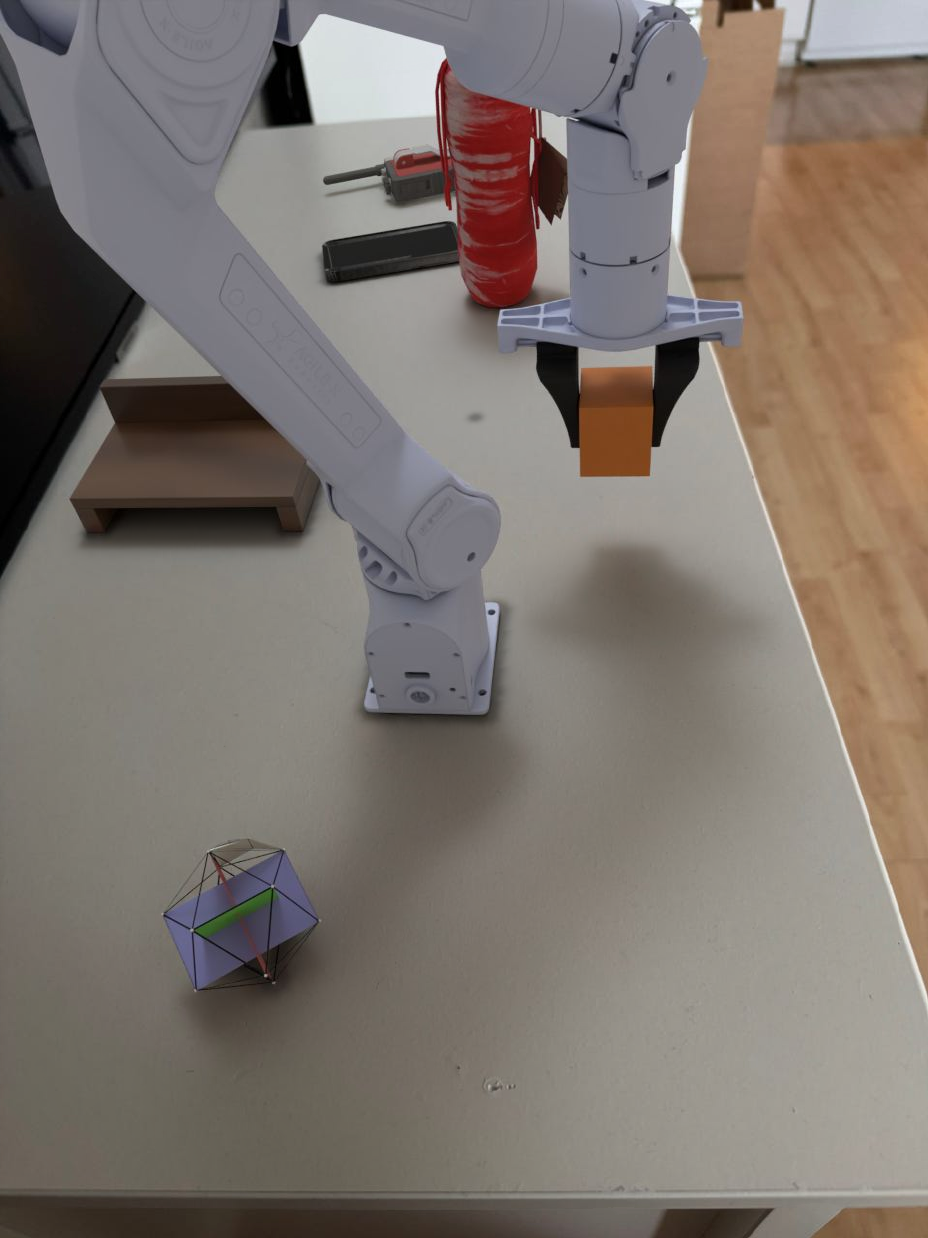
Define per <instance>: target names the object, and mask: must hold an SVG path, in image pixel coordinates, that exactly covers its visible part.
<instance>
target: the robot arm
mask: <svg viewBox="0 0 928 1238" xmlns="http://www.w3.org/2000/svg"><path fill="white" fill-rule="evenodd" d="M321 15H327V16H332V17H336V18H339V19H342V20H346V21H350V22H353V23H357V24H360V25H364V26H368V27H371V28H375V29H378V30H382V31H386V32H390V33H393V34H397V35H400V36H404V37H409V38H413V39H416V40H420V41H423V42H427V43H430V44H434V45H437V46H441V47H443V50H444V54H445V59H446V58H447V61H448V64H449V66H450V68H451V70H452V72H453V74H454V76H455V77H456V79H457V80H458V81H459V82H460V83H461V84H462V85H463V86H464V87H465V88H467V89H469V90H470V91H473V92H476V93H480V94H484V95H488V96H491V97H495V98H498V99H502V100H506V101H509V102H513V103H516V104H520V105H524V106H527V107H530V109H532V108H534V109H536V110H537V111H538V110H541V112H545V113H549V114H553V115H554V116H555V117H557V118H561V117H563V118H566V119H565V122H566V123H565V127H566V158H567V176H568V195H567V210H568V211H567V212H568V213H567V214H568V215H567V216H568V254H569V255H568V260H569V261H568V268H569V297H567V298H561V299H557V300H553V301H548V302H544V303H539V304H535V305H529V306H524V307H523V306H522V307H515V308H506V309H503V308H502V309H500V310H499V312H498V313H499V314H498V319H497V323H496V324H497V325H496V328H497V329H496V330H497V340H498V353H499V354H515V353H517V351H518V348H536V364H535V371H536V375H537V377H538V380H539V382H540V383H541V385H543V387H544V388H545V389H546V391H547V392H548V393H549V395H550V397H551V398H552V400H553V401H554V403H555V405H556V406H557V409H558V411H559V413H560V415H561V417H562V420H563V422H564V426H565V429H566V431H567V435H568V438H569V444H570V448H571V449H580V440H579V399H580V379H579V378H580V375H579V373H580V371H579V370H580V369H579V368H580V367H579V363H580V362H579V357H580V355H579V353H580V352H579V351H580V350H579V348H581V349H582V348H583V349H588V350H594V351H601V352H609V353H620V352H621V353H622V352H631V351H635V350H640V349H645V348H649V347H654V346H655V347H654V348H655V349H654V374H653V375H654V376H653V426H652V446H651V448H660V447H661V444H662V439H663V436H664V432H665V430H666V427H667V425H668V421H669V419H670V417H671V415H672V413H673V411H674V408H675V406H676V405H677V403H678V401H679V400H680V398H681V396H682V395H683V393H684V392H685V390H686V389H687V388H688V386H689V385H690V384H691V383H692V381H693V380H695V377H696V376H697V373H698V370H699V367H700V362H701V358H700V343H713V342H714V343H716V342H717V343H718V342H720V345H721V346H722V347H724V348H739V347H741V344H742V336H743V328H744V320H745V319H744V311H743V304H742V302H741V301H739V300H736V301H733V300H731V301H729V300H726V301H725V300H712V299H704V298H697V297H690V296H683V295H677V294H669V293H668V292H669V291H668V290H669V276H670V275H669V273H670V257H671V242H672V241H671V240H672V225H673V208H674V190H675V177H676V176H675V175H676V174H675V172H676V166H677V165H678V164H680V162H681V160H682V158H683V152H684V151H686V149H687V139H688V138H687V137H688V127H689V123H690V120H691V117H692V114H693V113H694V110H695V108H696V106H697V104H698V102H699V99H700V97H701V94H702V92H703V89H704V86H705V83H706V78H707V73H708V67H709V59H710V58H709V57H707V56H704V54H703V53H704V51H703V45H702V41H701V37H700V35H699V33H698V31H697V30H696V28H695V27H694V25H692V24H691V22H692V19H691V18H690V17H689V15H688V13H687V12H686V11H684V9H682V8H680V7H678V6H675V5H671V4H666V3H661V2H656V1H652V0H0V36H1V38H2V39H3V42H4V44H5V46H6V49H7V50H8V52H9V54H10V56H11V58H12V60H13V62H14V63H13V64H14V65H15V67H16V72H17V74H18V78H19V81H20V85H21V88H22V91H23V94H24V98H25V101H26V104H27V108H28V111H29V114H30V117H31V121H32V125H33V128H34V131H35V134H36V138H37V141H38V144H39V148H40V151H41V155H42V157H43V161H44V164H45V168H46V172H47V175H48V178H49V181H50V185H51V188H52V191H53V195H54V198H55V201H56V204H57V205H58V209H59V211H60V213H61V215H62V216H63V217H64V219H65V220H66V222H67V223H68V224H69V226H70V227H71V229H72V230H73V231H74V232H75V234H77V235H78V237H80V239H82V241H84V242H85V243H86V244H87V245H88V246H89V247H90V248H91V249H92V250H93V251H94V252H95V253H96V254H97V255H98V256H99V257H100V258H101V259H102V260H103V261H104V262H105V263H106V264H107V265H108V266H109V267H110V268H111V269H112V270H113V271H114V272H115V273H116V274H117V275H118V276H119V277H120V278H121V279H122V280H123V281H124V282H125V283H126V284H127V285H129V287H130V288H132V290H134V292H135V293H137V295H138V296H139V297H141V299H143V301H144V302H146V303H147V304H148V305H149V306H150V307H151V308H152V309H153V310H154V311H155V313H156V314H158V315H159V316H160V317H161V318H162V320H164V322H166V323H167V324H168V325H169V326H170V327H171V328H172V329H173V330H174V331H175V332H176V333H177V334H178V335H179V336H180V337H181V338H182V339H183V340H184V341H185V342H186V343H187V344H189V346H190V347H191V348H193V350H195V352H196V353H198V355H199V356H201V358H203V360H204V361H206V362H207V363H208V364H209V365H210V367H212V368H213V369H214V371H216V372H217V373H218V374H219V376H222V377H223V378H224V379H225V380H226V381H227V382H228V383H229V384H230V385H231V386H232V387H233V388H234V389H235V390H236V391H237V392H238V393H239V394H240V395H241V396H242V397H243V398H244V399H245V400H246V401H247V402H249V403H250V404H251V405H252V406H253V407H254V408H255V409H256V410H257V411H258V412H259V413H260V414H261V415H262V416H263V417H264V418H265V419H266V420H267V421H268V422H269V423H270V424H271V425H272V426H273V427H274V428H275V429H276V430H277V431H278V432H279V433H280V434H281V435H282V436H283V437H284V438H285V439H286V440H287V441H288V442H289V443H290V444H291V445H292V446H293V447H294V448H295V449H296V450H297V451H298V452H299V453H300V454H301V455H302V456H303V457H304V458H305V459H306V460H307V465H308V466H309V467H310V468H311V469H312V470H313V471H314V472H315V473H316V475H317V476H318V477H319V479H320V481H319V482H320V483H321V486H322V490H323V495H324V499H325V503H326V504H327V507H328V508H329V510H330V511H331V512H332V513H333V514H334V515H335V517H337V518H338V519H339V520H341V521H344V522H346V523H348V524H349V525H350V526H351V528H352V533H353V536H354V541H355V542H356V550H357V558H358V562H359V566H360V570H361V574H362V578H363V579H362V580H363V582H364V588H365V590H366V595H367V599H368V612H369V613H368V620H367V625H366V630H365V635H364V638H363V639H364V640H363V651H364V656H365V660H366V664H367V667H368V668H367V669H368V671H369V678H368V681H367V682H368V683H367V687H366V692H365V697H364V700H363V707H364V709H365V711H366V712H368V713H383V714H384V713H385V714H386V713H387V714H389V713H390V714H425V715H427V714H431V715H465V716H466V715H468V716H469V715H470V716H471V715H473V716H483V715H485V714H487V713H488V712H489V710H490V704H491V695H492V688H493V687H492V685H493V677H494V676H493V675H494V667H495V659H496V650H497V649H496V647H497V641H498V639H497V638H498V630H499V621H500V613H501V609H500V608H501V607H500V604H499V603H497V602H495V601H494V602H493V601H486V599H485V591H484V583H483V574H482V569H483V568H484V567H485V565H486V564H487V563H488V561H489V560H490V558H491V556H492V555H493V552H494V551H495V548H496V546H497V544H498V540H499V537H500V533H501V525H502V515H501V510H500V507H499V505H498V503H497V501H496V500H495V498H494V497H493V496H491V494H489V493H487V492H486V491H485V490H483V489H480V488H476V487H473V486H472V485H471V484H469V483H468V482H467V481H465V480H464V479H463V478H461V477H460V476H458V475H457V474H455V473H454V472H453V471H452V470H450V469H448V468H447V467H445V466H444V465H443V464H442V463H440V462H439V461H438V460H437V459H436V458H435V457H433V455H431V453H429V451H428V450H426V449H425V448H424V447H423V446H421V444H419V443H418V442H417V441H416V440H415V439H414V438H413V437H411V435H409V434H408V432H406V431H405V430H404V428H402V426H401V425H400V424H399V423H398V421H397V420H396V419H395V418H394V417H393V415H392V414H391V413H390V411H389V410H388V409H387V408H386V406H385V405H384V404H383V403H382V402H381V401H380V399H379V398H378V397H377V396H376V395H375V393H374V392H373V391H372V390H371V388H370V387H369V386H368V385H367V384H366V383H365V381H364V380H363V379H362V378H361V376H360V375H359V374H358V372H356V370H355V369H354V368H353V366H352V365H350V363H349V362H348V360H347V359H346V358H345V357H344V356H343V355H342V353H341V352H340V351H339V349H338V348H337V347H336V346H335V345H334V344H333V342H332V341H331V340H330V339H329V337H327V336H326V334H325V332H324V331H323V330H322V329H321V328H320V327H319V326H318V324H317V323H316V322H315V320H314V319H313V318H312V317H311V316H310V315H309V314H308V312H307V311H306V309H305V308H304V307H303V306H302V305H301V304H300V302H299V301H298V300H297V299H296V298H295V296H294V295H293V294H292V292H291V291H290V290H289V289H288V288H287V287H286V285H285V284H284V283H283V282H282V280H280V278H279V277H278V276H277V274H276V273H275V272H274V271H273V269H272V268H271V267H270V266H269V265H268V263H267V262H266V261H265V260H264V259H263V257H262V256H261V255H260V254H259V253H258V251H257V250H256V249H255V248H254V246H252V244H251V243H250V241H248V239H247V238H246V237H245V236H244V234H243V233H242V232H241V231H240V229H239V228H238V227H237V226H236V225H235V224H234V222H233V221H232V220H231V219H230V218H229V216H228V214H226V213H225V211H224V210H223V209H222V208H221V207H220V205H219V204H218V202H217V200H216V188H217V181H218V175H219V173H220V170H221V168H222V165H223V164H224V161H225V159H226V156H227V154H228V152H229V149H230V147H231V144H232V142H233V140H234V137H235V135H236V134H237V133H236V132H237V130H238V128H239V126H240V123H241V121H242V119H243V116H244V114H245V112H246V109H247V107H248V104H249V102H250V100H251V97H252V95H253V92H254V91H255V88H256V85H257V84H258V81H259V78H260V76H261V75H262V72H263V69H264V67H265V65H266V62H267V60H268V57H269V54H270V51H271V48H272V45H273V42H277V43H280V44H282V45H285V46H288V47H294V46H297V45H298V44H300V43H301V42H302V41H303V40H305V37H306V35H307V34H308V32H309V31H310V30H311V28H312V26H313V25H314V23H315V22H316V20H317V19H318V18H319V16H321ZM373 692H374V693H373ZM481 694H484V695H481Z"/></svg>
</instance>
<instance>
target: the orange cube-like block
mask: <svg viewBox="0 0 928 1238" xmlns="http://www.w3.org/2000/svg"><path fill="white" fill-rule="evenodd" d="M653 386H654V376H653V365H643V366H642V365H641V366H637V365H636V366H610V367H609V366H604V367H603V366H601V367H598V366H597V367H581V369H580V381H579V391H580V399H579V440H580V448H579V477H580V478H599V477H600V478H606V477H607V478H608V477H609V478H610V477H611V478H613V477H615V478H617V477H619V478H621V477H651V465H652V463H651V462H652V447H651V446H652V426H653Z"/></svg>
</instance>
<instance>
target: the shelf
mask: <svg viewBox="0 0 928 1238" xmlns="http://www.w3.org/2000/svg"><path fill="white" fill-rule="evenodd" d="M99 389H100V392H101V394H102V396H103V398H104V401H105V403H106V406H107V408H108V411H109V412H110V415H111V417H112V419H113V422H114V424H113V425H112V427H111V429H109V432H108V434H107V435H106V437H105V439H104V440H103V442H102V443H101V445H100V447H99V448H98V450H97V452H96V453H95V455H94V457H93V459H92V460H91V462H90V464H89V465H88V467H87V468H86V471H85V472H84V474H83V475H82V477H81V478H80V480H79V482H78V483H77V485H76V487H75V489H74V490H73V492H72V494H71V495H70V497H69V501H70V503H71V505H72V507H73V509H74V511H75V513H76V515H77V517H78V518H79V520H80V522H81V524H82V526H83V528H84V530H85V533H106V530H107V529H108V528H109V526H110V524H111V521H112V520H113V518H114V516H115V514H116V512H117V511H118V509H162V508H164V509H167V508H169V509H171V508H176V509H177V508H179V509H180V508H181V509H182V508H276V511H277V515H278V518H279V521H280V525H281V527H282V530H283V532H304V529H305V526H306V524H307V520H308V517H309V514H310V510H311V507H312V504H313V502H314V498H315V495H316V492H317V490H318V487H319V483H320V482H321V481H320V479H319V477H318V476H317V475H316V473H315V472H314V471H313V470H312V469H311V468H310V467H309V466H308V465H307V460H306V459H305V458H304V457H303V456H302V455H301V454H300V453H299V452H298V451H297V450H296V449H295V448H294V447H293V446H292V445H291V444H290V443H289V442H288V441H287V440H286V439H285V438H284V437H283V436H282V435H281V434H280V433H279V432H278V431H277V430H276V429H275V428H274V427H273V426H272V425H271V424H270V423H269V422H268V421H267V420H266V419H265V418H264V417H263V416H262V415H261V414H260V413H259V412H258V411H257V410H256V409H255V408H254V407H253V406H252V405H251V404H250V403H249V402H247V401H246V400H245V399H244V398H243V397H242V396H241V395H240V394H239V393H238V392H237V391H236V390H235V389H234V388H233V387H232V386H231V385H230V384H229V383H228V382H227V381H226V380H225V379H224V378H223V377H222V376H221V375H208V376H207V375H206V376H171V377H139V378H137V377H135V378H132V377H131V378H105V379H104V380H103V381H101V384H100V385H99Z"/></svg>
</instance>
